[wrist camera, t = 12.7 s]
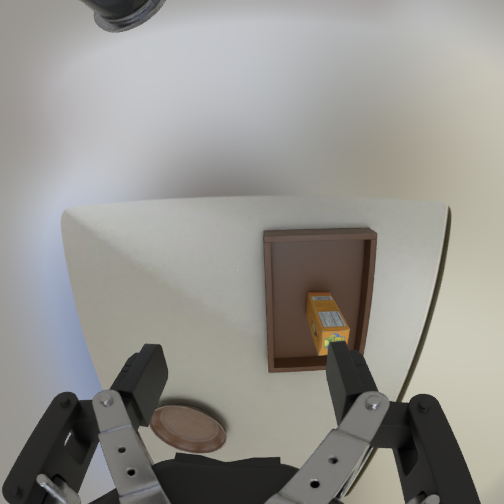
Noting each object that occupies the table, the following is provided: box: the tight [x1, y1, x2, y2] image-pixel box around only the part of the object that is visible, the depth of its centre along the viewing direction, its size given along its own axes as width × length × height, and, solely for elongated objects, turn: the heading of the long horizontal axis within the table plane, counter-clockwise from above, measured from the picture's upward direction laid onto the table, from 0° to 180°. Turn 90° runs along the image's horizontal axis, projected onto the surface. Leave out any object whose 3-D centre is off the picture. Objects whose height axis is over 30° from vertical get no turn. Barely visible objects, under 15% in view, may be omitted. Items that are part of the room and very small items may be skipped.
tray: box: [263, 228, 377, 373], centre depth 37 cm, size 20×14×3 cm
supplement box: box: [306, 292, 350, 356], centre depth 33 cm, size 3×3×10 cm
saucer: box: [149, 404, 227, 453], centre depth 46 cm, size 15×15×3 cm
